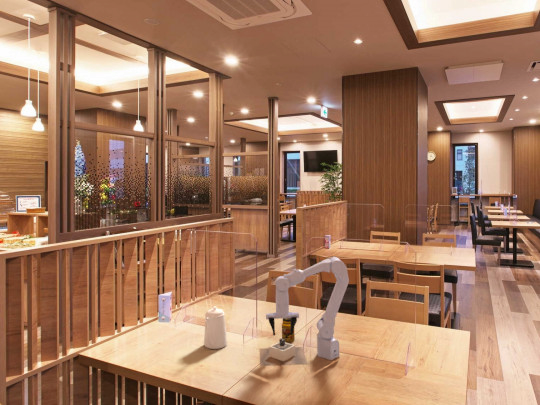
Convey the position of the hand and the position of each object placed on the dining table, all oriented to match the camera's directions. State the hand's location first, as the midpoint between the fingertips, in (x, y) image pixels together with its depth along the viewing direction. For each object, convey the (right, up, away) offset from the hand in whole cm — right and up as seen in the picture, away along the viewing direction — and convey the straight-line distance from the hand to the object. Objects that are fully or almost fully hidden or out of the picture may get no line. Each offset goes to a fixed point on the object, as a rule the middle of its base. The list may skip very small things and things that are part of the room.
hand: (282, 334), depth 182 cm
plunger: (0, -9, 0) cm, 9 cm away
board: (0, -10, 0) cm, 10 cm away
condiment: (+3, -10, +19) cm, 22 cm away
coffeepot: (-32, -10, +15) cm, 37 cm away
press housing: (0, -10, 0) cm, 10 cm away
